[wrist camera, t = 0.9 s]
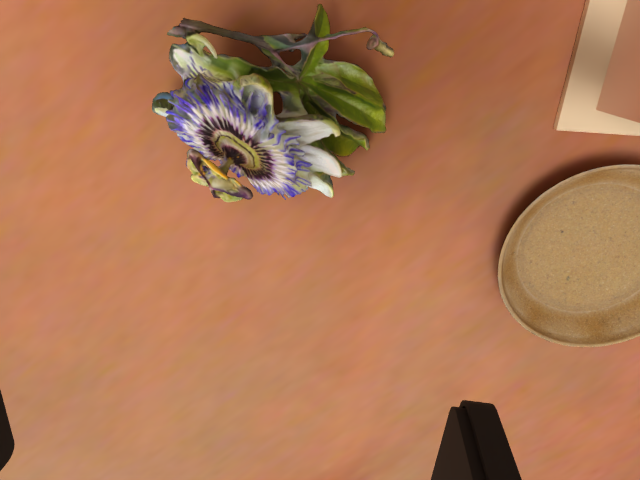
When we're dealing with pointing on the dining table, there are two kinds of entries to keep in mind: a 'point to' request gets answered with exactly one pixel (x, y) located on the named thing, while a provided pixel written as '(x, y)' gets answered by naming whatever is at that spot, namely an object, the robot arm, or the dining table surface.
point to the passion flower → (269, 110)
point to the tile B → (624, 69)
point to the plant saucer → (577, 260)
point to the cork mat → (592, 73)
